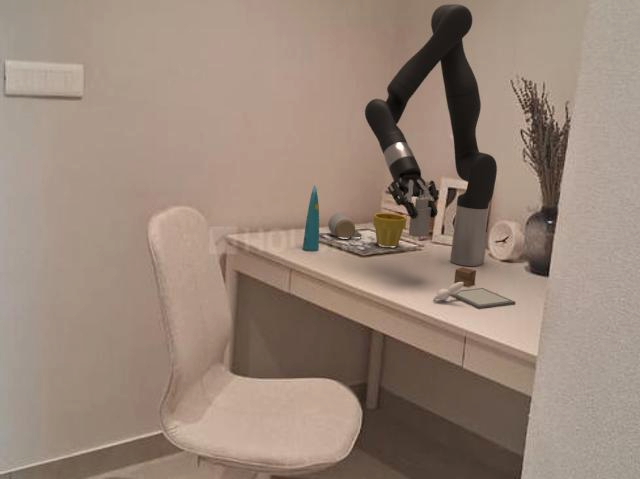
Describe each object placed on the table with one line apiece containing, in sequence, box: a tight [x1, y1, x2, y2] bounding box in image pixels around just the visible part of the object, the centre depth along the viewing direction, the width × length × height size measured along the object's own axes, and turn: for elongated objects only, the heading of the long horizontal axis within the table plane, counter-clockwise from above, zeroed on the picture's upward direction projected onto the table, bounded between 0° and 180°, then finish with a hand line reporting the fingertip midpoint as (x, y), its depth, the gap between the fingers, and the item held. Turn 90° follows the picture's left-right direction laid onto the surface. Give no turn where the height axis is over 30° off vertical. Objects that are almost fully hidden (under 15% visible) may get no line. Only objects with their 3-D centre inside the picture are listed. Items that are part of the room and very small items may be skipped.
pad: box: [449, 287, 516, 310], centre depth 179 cm, size 12×12×1 cm
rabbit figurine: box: [432, 282, 464, 303], centre depth 175 cm, size 6×4×8 cm
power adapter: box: [408, 189, 431, 238], centre depth 184 cm, size 3×5×12 cm, turn 134°
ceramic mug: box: [327, 212, 363, 238], centre depth 235 cm, size 11×8×8 cm
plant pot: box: [372, 212, 407, 247], centre depth 228 cm, size 10×10×10 cm
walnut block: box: [453, 266, 477, 288], centre depth 192 cm, size 4×4×4 cm
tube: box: [302, 185, 320, 252], centre depth 215 cm, size 7×5×19 cm, turn 13°
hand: (424, 216), depth 183 cm, fingers closed on power adapter, 5 cm apart
